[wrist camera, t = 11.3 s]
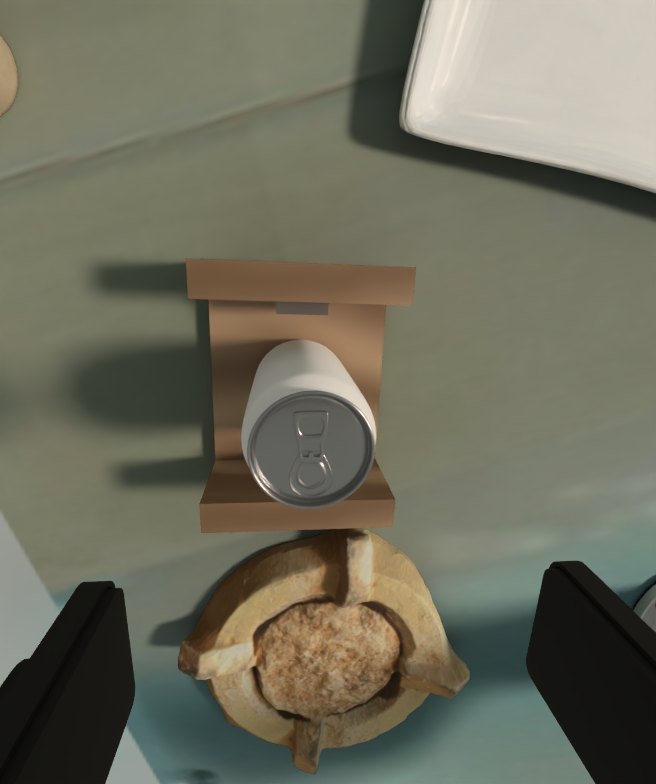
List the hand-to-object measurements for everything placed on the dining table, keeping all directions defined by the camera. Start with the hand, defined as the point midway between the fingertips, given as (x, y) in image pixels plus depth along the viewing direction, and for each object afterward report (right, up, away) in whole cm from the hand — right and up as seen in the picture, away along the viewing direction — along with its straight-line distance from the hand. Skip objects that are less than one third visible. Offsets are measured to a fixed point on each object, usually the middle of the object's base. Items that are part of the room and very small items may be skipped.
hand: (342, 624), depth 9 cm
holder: (-3, +6, +21) cm, 22 cm away
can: (-2, +6, +20) cm, 21 cm away
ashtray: (0, -17, +29) cm, 33 cm away
